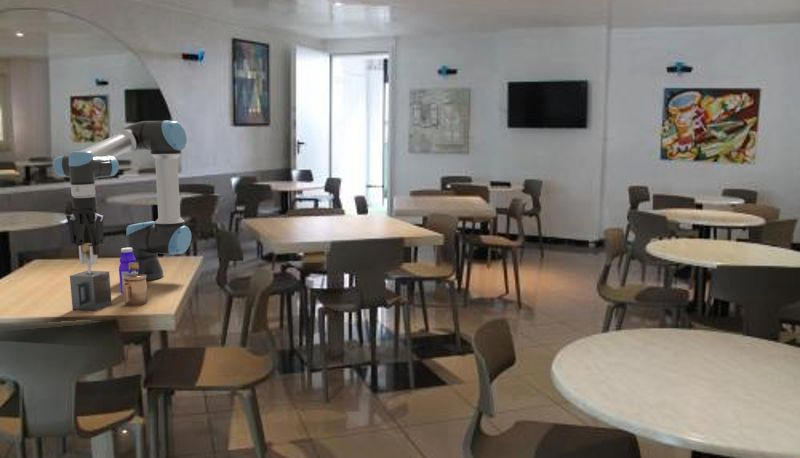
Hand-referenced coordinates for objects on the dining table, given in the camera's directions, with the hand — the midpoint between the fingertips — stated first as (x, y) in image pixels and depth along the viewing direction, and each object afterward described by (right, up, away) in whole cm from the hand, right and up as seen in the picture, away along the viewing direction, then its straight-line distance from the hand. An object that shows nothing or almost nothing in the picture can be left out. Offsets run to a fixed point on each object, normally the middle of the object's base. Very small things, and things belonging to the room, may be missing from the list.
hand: (88, 263), depth 245 cm
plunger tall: (0, -12, +2) cm, 12 cm away
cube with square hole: (0, -16, +1) cm, 16 cm away
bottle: (+6, -13, +22) cm, 26 cm away
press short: (+13, -15, +6) cm, 21 cm away
